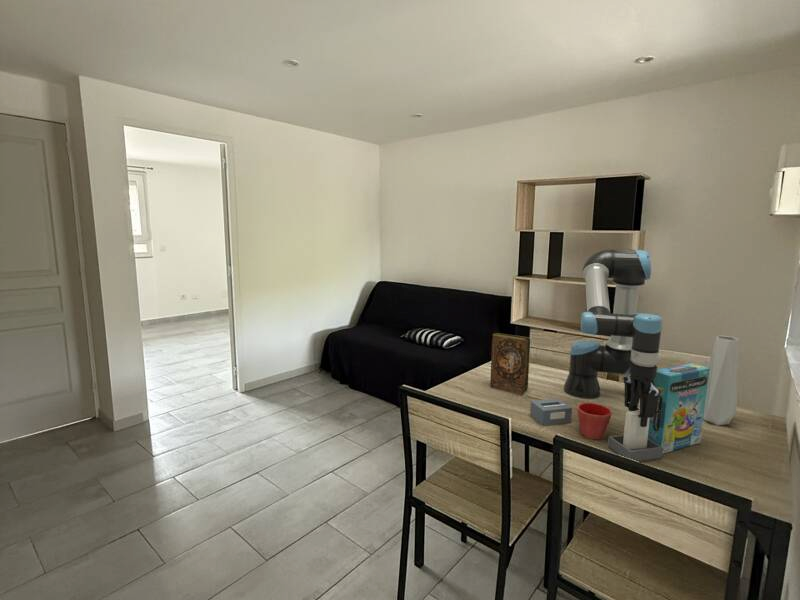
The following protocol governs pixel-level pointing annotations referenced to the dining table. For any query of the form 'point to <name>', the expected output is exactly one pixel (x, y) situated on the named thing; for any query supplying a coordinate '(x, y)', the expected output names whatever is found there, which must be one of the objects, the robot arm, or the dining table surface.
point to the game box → (679, 406)
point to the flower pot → (593, 420)
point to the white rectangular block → (634, 432)
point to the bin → (635, 450)
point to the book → (510, 363)
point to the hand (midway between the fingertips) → (636, 432)
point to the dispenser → (551, 411)
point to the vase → (722, 381)
